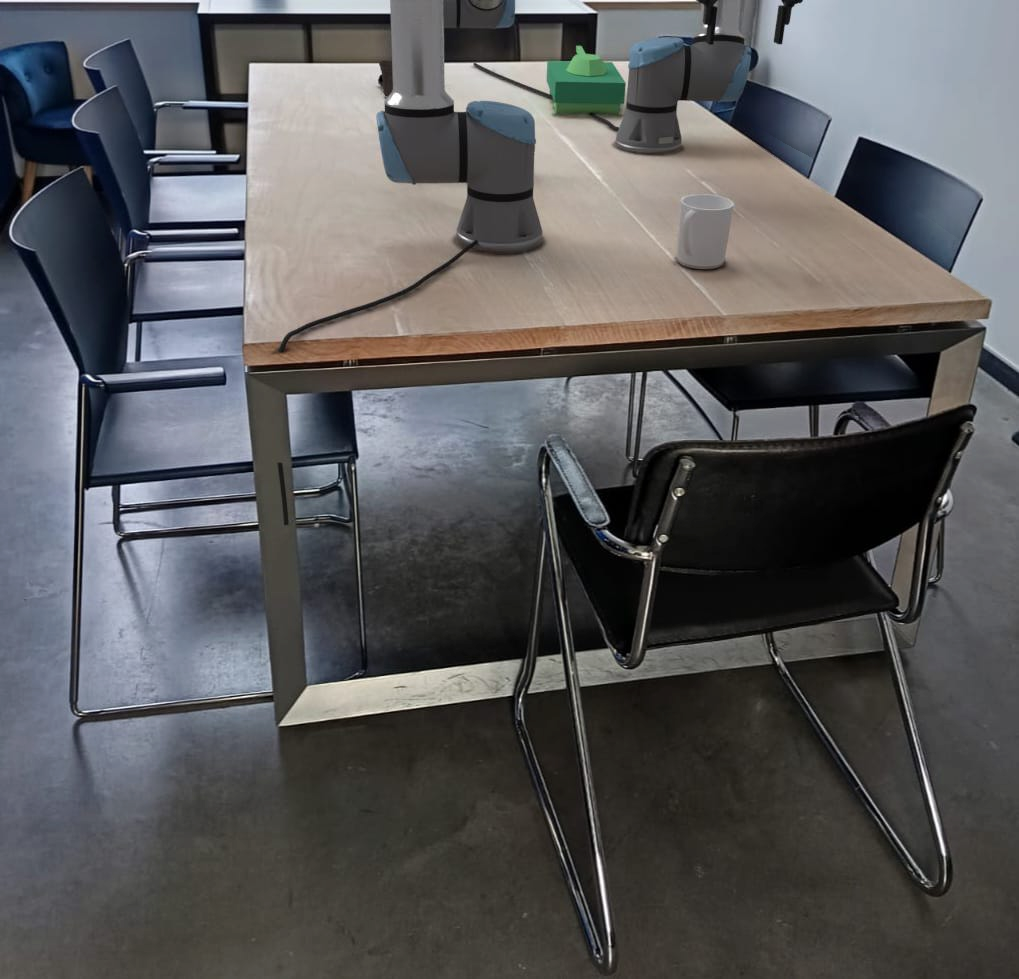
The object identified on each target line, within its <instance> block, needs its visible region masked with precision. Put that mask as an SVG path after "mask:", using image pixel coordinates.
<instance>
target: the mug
mask: <svg viewBox="0 0 1019 979" xmlns="http://www.w3.org/2000/svg"><path fill="white" fill-rule="evenodd" d="M734 207H735V203H734V201H733V200H732V199H729V198H727V197H725V196H721V195H716V194H706V193H705V194H704V193H696V194H695V193H694V194H689V195H684V196H683V197H681V198H680V200H679V212H678V213H679V214H678V231H677V232H678V234H677V251H676V260H677V262H678V263H679V264H680V265H682V266H684V267H687V268H691V269H695V270H714V269H718V268H720V267H722V266H723V265H724V263H725V259H726V254H727V248H728V247H727V246H728V242H729V235H730V231H731V226H732V225H731V224H732V219H733V213H734Z"/></svg>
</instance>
